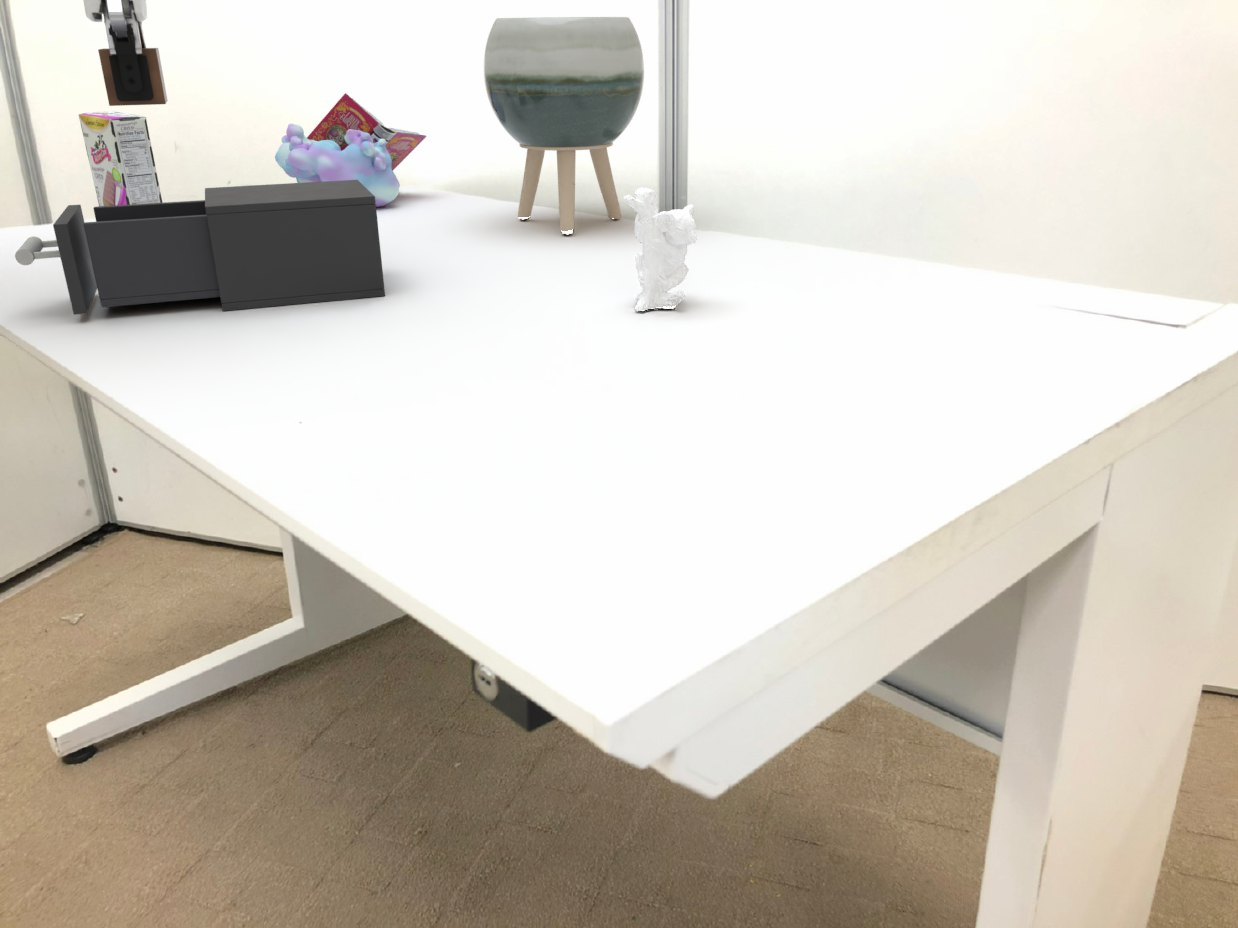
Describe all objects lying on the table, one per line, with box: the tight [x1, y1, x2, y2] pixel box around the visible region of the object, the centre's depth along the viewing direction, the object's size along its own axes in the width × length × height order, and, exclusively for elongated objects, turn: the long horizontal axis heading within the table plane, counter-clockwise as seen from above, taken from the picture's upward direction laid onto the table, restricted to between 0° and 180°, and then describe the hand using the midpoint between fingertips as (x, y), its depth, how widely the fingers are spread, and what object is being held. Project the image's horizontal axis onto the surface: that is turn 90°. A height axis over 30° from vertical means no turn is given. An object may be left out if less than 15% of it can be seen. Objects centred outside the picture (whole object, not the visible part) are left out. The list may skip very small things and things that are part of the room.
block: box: [98, 47, 168, 107], centre depth 98 cm, size 5×5×5 cm
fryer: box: [204, 180, 386, 312], centre depth 109 cm, size 17×14×11 cm
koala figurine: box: [622, 186, 698, 312], centre depth 101 cm, size 8×7×12 cm
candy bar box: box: [78, 110, 163, 206], centre depth 137 cm, size 11×5×16 cm, turn 46°
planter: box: [483, 16, 645, 231], centre depth 141 cm, size 22×22×28 cm
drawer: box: [14, 199, 220, 316], centre depth 104 cm, size 20×12×9 cm, turn 111°
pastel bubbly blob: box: [274, 92, 427, 208], centre depth 163 cm, size 20×22×18 cm
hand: (137, 96), depth 98 cm, fingers closed on block, 5 cm apart
